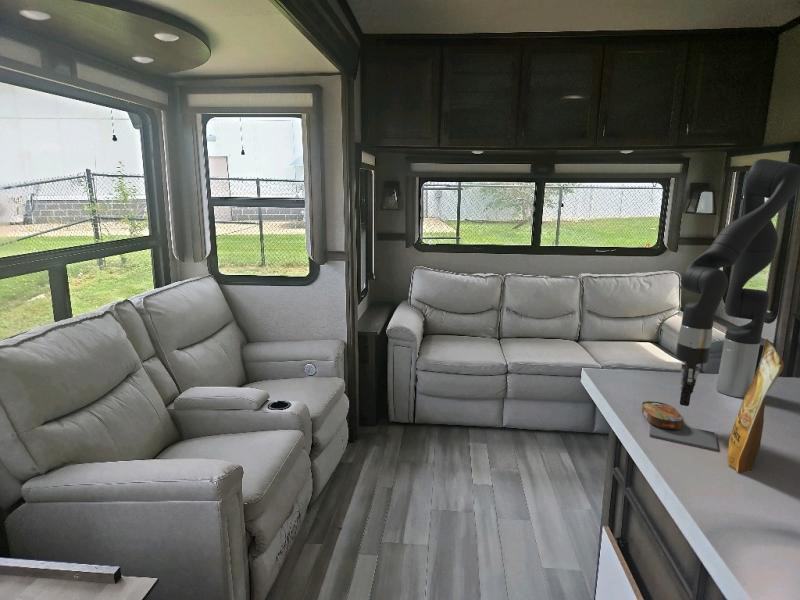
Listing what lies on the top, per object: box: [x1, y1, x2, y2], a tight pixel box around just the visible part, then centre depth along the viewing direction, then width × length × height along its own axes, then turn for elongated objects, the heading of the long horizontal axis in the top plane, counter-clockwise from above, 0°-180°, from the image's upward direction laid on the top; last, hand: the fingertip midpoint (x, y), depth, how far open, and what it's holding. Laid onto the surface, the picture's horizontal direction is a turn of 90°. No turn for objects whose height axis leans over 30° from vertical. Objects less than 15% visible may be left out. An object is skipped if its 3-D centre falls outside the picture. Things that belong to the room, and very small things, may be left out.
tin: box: [641, 400, 684, 429], centre depth 140 cm, size 15×3×8 cm
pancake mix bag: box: [727, 338, 785, 473], centre depth 119 cm, size 7×19×28 cm, turn 146°
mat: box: [649, 423, 719, 452], centre depth 133 cm, size 10×15×1 cm, turn 63°
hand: (684, 404), depth 138 cm, fingers closed
